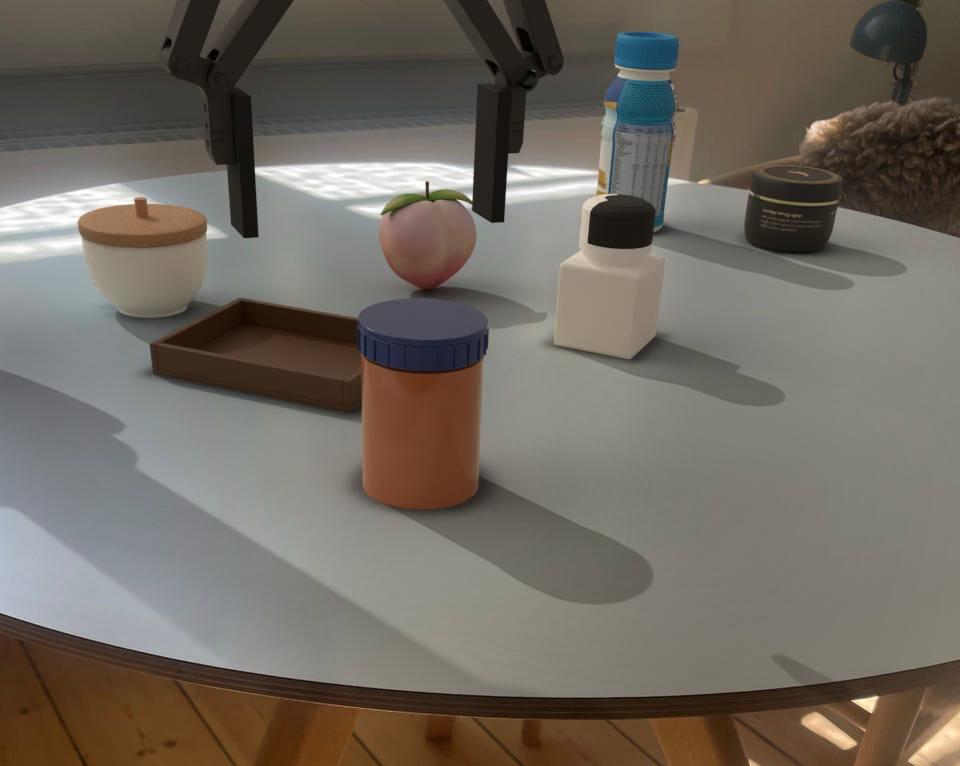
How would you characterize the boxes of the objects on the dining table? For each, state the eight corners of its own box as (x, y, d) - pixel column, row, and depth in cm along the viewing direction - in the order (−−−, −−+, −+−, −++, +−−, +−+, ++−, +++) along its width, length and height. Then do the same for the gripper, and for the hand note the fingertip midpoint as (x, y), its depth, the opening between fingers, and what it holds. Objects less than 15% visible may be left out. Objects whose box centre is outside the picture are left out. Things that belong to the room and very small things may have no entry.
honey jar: (342, 496, 74) (338, 334, 68) (392, 451, 80) (392, 299, 74) (451, 520, 72) (456, 355, 66) (494, 473, 78) (503, 318, 72)
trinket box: (153, 335, 98) (139, 220, 92) (64, 310, 102) (46, 199, 97) (238, 305, 105) (230, 197, 100) (152, 282, 110) (140, 178, 105)
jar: (753, 228, 137) (764, 159, 133) (838, 241, 134) (852, 171, 129) (730, 247, 130) (741, 175, 125) (819, 261, 126) (834, 187, 122)
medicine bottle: (656, 337, 103) (674, 196, 96) (630, 361, 97) (648, 213, 91) (581, 323, 105) (594, 184, 98) (552, 346, 100) (563, 201, 93)
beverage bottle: (630, 240, 130) (652, 41, 119) (576, 224, 135) (592, 31, 124) (678, 229, 135) (704, 37, 124) (624, 214, 140) (644, 28, 129)
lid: (334, 357, 69) (333, 326, 68) (391, 319, 75) (391, 290, 74) (457, 380, 67) (458, 348, 66) (505, 339, 73) (507, 310, 72)
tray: (152, 374, 90) (148, 343, 89) (241, 325, 101) (239, 297, 99) (350, 414, 85) (349, 381, 84) (422, 358, 96) (423, 329, 94)
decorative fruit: (439, 272, 117) (441, 167, 111) (487, 293, 111) (493, 184, 106) (359, 285, 112) (357, 176, 106) (406, 308, 107) (407, 195, 101)
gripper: (80, -329, 42) (144, 259, 54) (664, -264, 51) (610, 228, 63) (54, -311, 48) (118, 218, 60) (585, -255, 57) (549, 195, 69)
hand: (371, 224), depth 61 cm, fingers open, 13 cm apart
